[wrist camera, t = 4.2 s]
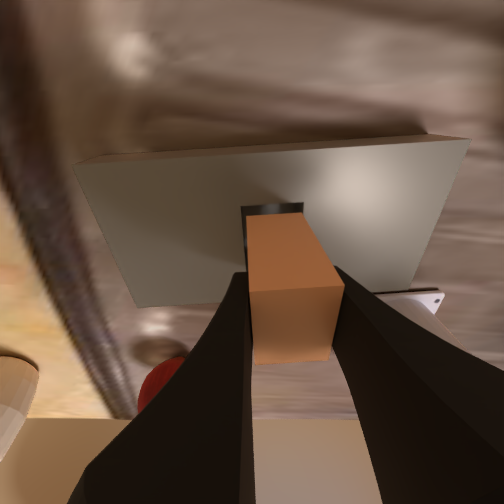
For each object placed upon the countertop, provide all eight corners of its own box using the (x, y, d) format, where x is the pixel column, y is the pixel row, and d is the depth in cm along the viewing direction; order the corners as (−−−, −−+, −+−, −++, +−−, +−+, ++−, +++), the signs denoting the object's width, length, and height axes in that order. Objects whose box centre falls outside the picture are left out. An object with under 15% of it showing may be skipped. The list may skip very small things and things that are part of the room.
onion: (174, 377, 27) (151, 467, 20) (142, 351, 24) (102, 446, 17) (216, 364, 26) (207, 454, 19) (188, 335, 23) (165, 429, 16)
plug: (297, 271, 14) (328, 359, 9) (250, 274, 14) (255, 364, 9) (301, 212, 12) (344, 285, 7) (246, 215, 12) (249, 291, 7)
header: (385, 266, 19) (408, 289, 16) (151, 281, 19) (137, 308, 16) (429, 134, 14) (471, 138, 11) (102, 155, 14) (71, 165, 11)
